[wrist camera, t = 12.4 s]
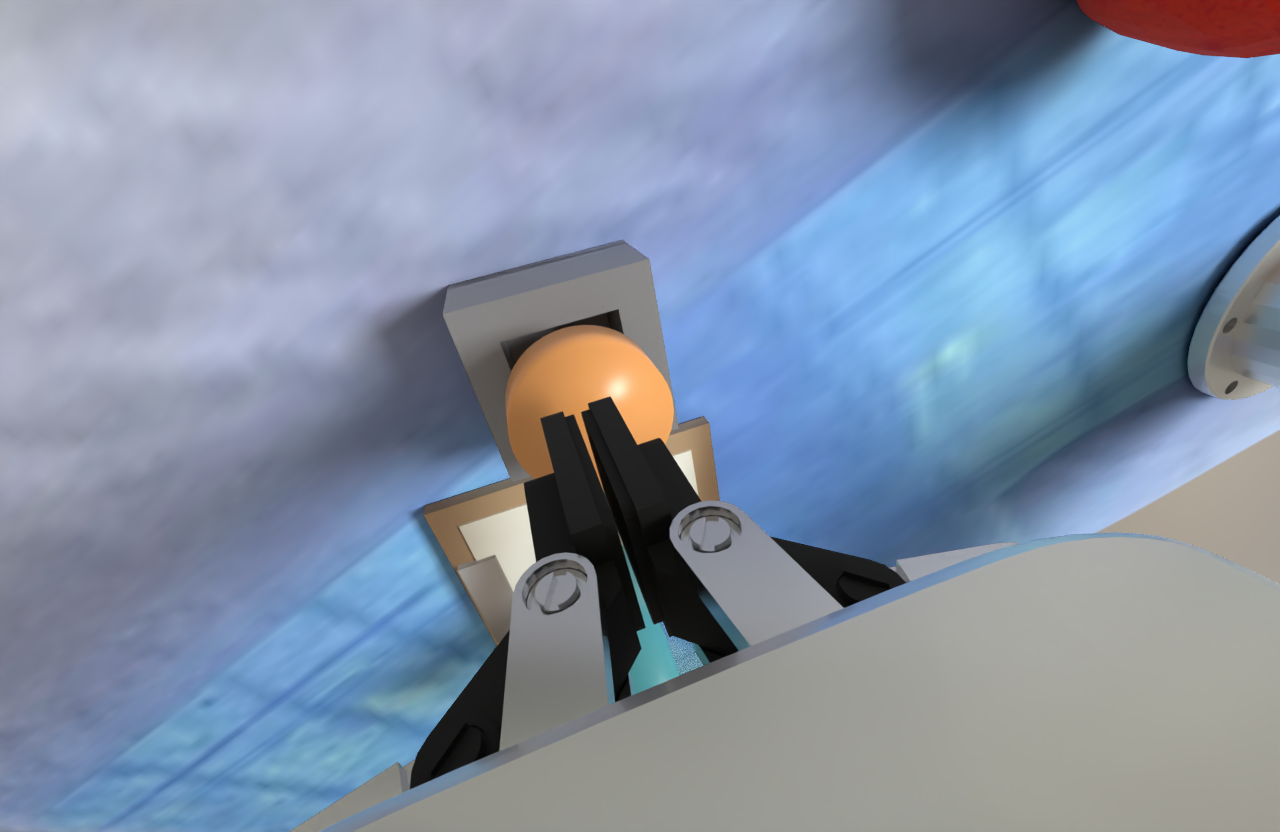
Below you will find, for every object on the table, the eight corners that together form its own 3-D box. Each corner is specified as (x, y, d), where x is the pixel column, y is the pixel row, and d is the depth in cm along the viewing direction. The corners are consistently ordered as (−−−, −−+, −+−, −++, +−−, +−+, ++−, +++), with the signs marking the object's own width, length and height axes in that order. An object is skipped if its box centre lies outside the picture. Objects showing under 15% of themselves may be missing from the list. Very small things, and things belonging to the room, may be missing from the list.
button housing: (622, 239, 17) (649, 259, 15) (652, 389, 20) (679, 428, 18) (448, 285, 16) (442, 314, 14) (507, 434, 20) (511, 482, 17)
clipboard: (703, 416, 22) (711, 426, 21) (727, 583, 27) (734, 596, 27) (424, 505, 20) (422, 520, 19) (512, 663, 26) (513, 679, 25)
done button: (618, 282, 16) (659, 324, 12) (643, 400, 18) (684, 464, 15) (481, 320, 15) (482, 375, 12) (525, 437, 18) (537, 513, 14)
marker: (630, 534, 23) (720, 766, 14) (642, 579, 24) (729, 811, 16) (564, 557, 22) (618, 810, 14) (581, 601, 24) (638, 852, 16)
